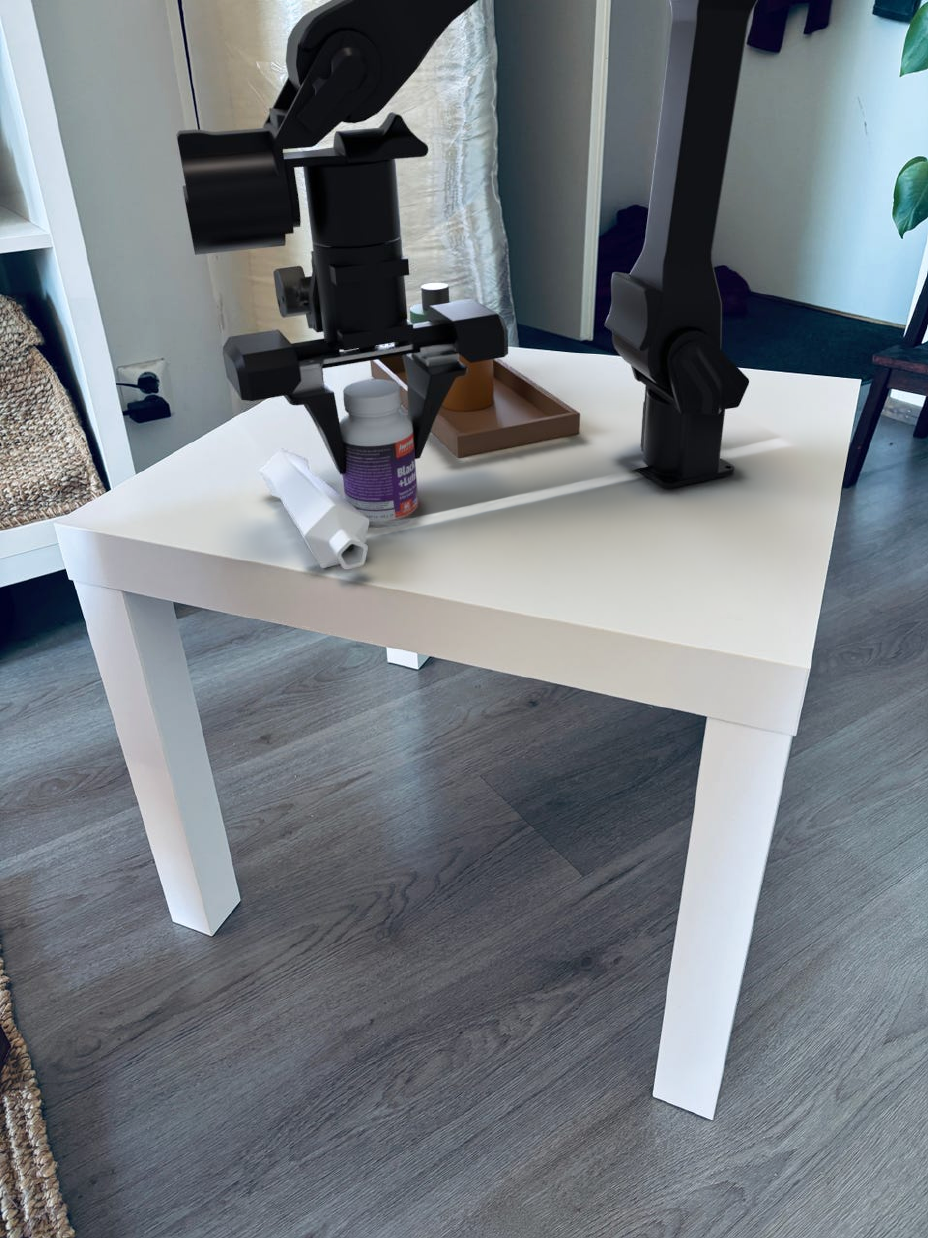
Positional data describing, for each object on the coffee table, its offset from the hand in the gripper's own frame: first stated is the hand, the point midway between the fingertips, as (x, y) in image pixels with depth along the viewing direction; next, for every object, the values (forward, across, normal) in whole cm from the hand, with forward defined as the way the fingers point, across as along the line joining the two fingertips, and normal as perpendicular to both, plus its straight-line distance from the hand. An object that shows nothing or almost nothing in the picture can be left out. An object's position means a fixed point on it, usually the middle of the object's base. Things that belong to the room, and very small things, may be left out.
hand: (379, 464), depth 70 cm
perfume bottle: (+2, +6, -6) cm, 9 cm away
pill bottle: (+4, 0, 0) cm, 4 cm away
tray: (+4, -14, -17) cm, 22 cm away
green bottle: (+3, -14, -24) cm, 28 cm away
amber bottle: (+3, -14, -17) cm, 22 cm away
